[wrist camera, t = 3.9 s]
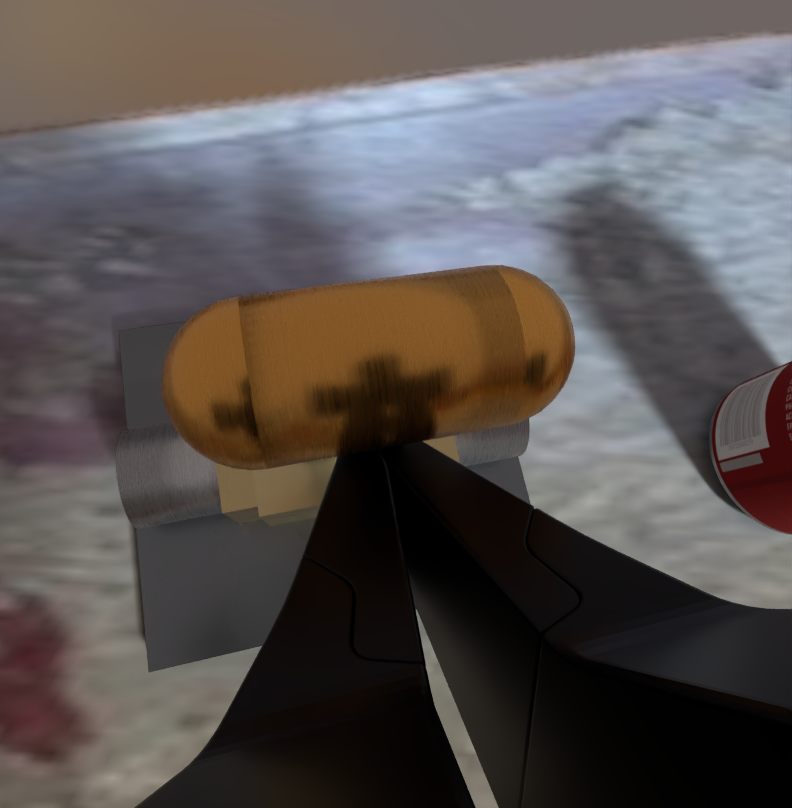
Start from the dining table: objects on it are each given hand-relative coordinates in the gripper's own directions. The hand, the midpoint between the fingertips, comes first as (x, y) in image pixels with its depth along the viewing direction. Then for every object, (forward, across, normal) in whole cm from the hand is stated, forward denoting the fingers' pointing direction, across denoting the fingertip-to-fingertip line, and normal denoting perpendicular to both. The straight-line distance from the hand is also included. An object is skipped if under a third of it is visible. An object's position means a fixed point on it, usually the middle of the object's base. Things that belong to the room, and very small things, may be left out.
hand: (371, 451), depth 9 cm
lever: (+6, 0, +3) cm, 7 cm away
